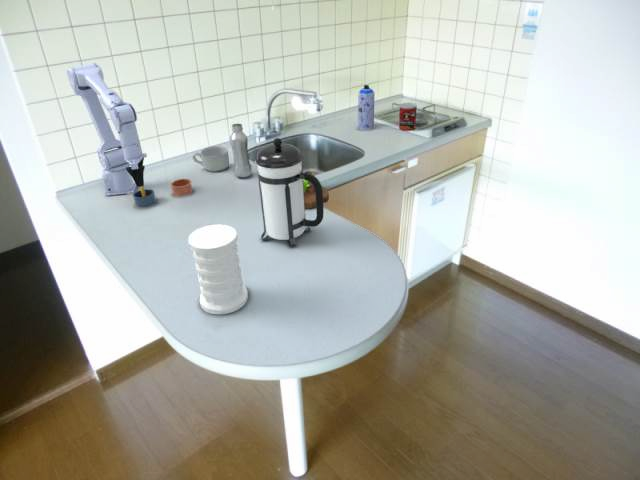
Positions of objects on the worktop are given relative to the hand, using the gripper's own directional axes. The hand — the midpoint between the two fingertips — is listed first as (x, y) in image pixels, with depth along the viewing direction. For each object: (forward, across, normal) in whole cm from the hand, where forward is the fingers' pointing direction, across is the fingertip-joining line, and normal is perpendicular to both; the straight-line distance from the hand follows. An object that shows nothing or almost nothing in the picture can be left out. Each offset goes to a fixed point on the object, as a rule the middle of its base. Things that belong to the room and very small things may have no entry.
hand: (140, 181), depth 158 cm
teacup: (+9, +22, -26) cm, 35 cm away
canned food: (+8, +34, -119) cm, 124 cm away
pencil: (+8, 0, 0) cm, 8 cm away
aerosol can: (+8, +43, -102) cm, 111 cm away
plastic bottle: (+8, +10, -36) cm, 39 cm away
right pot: (+8, +4, -13) cm, 16 cm away
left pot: (+8, 0, 0) cm, 8 cm away
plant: (+8, -17, -50) cm, 53 cm away
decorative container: (+8, -64, -17) cm, 67 cm away
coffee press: (+8, -41, -41) cm, 58 cm away
